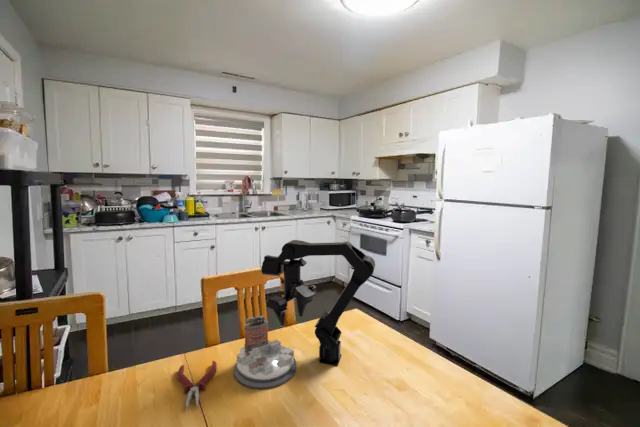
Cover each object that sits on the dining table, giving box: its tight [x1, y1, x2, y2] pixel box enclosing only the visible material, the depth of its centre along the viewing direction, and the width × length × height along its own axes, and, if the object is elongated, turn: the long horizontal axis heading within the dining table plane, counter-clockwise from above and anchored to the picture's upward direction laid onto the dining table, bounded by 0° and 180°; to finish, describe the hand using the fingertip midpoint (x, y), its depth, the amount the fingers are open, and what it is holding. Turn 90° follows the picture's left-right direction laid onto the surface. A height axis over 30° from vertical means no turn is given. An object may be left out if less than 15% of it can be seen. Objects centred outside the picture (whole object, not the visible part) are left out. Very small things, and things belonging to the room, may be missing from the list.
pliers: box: [177, 360, 218, 411], centre depth 94 cm, size 12×20×3 cm, turn 16°
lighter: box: [244, 315, 269, 349], centre depth 106 cm, size 8×3×10 cm, turn 121°
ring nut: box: [236, 338, 295, 382], centre depth 102 cm, size 18×18×4 cm
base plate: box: [233, 357, 298, 390], centre depth 103 cm, size 20×20×1 cm
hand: (291, 320), depth 111 cm, fingers open, 9 cm apart
